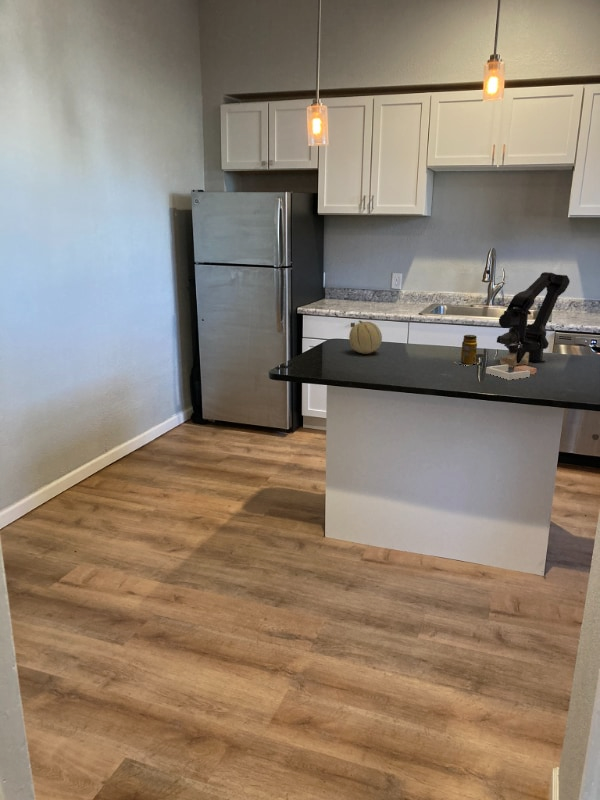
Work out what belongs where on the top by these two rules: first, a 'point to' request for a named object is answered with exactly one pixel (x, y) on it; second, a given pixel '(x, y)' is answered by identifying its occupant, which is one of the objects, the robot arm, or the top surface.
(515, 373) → the corral
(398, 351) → the top surface
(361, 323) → the cantaloupe
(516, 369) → the tile
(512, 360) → the scraper
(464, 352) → the condiment
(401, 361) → the top surface
